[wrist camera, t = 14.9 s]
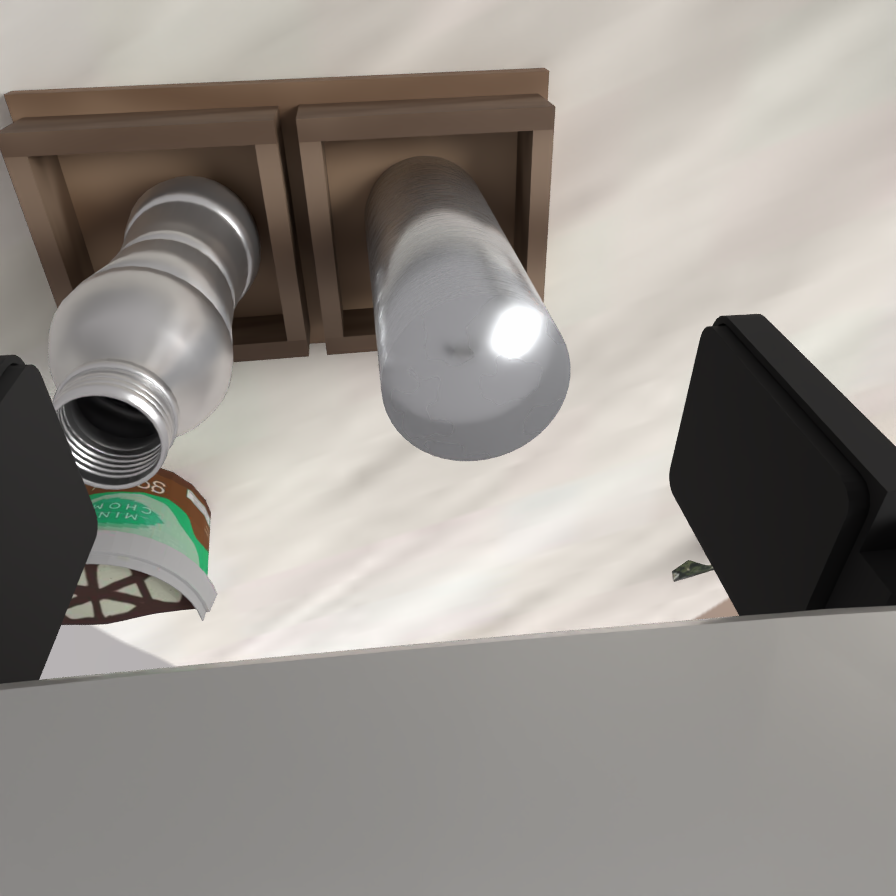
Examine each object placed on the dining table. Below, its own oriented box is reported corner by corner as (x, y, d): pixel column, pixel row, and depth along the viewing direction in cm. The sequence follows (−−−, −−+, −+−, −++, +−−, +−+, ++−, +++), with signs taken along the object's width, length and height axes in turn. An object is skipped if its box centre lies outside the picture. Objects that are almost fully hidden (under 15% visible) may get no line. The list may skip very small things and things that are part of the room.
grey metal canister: (359, 158, 37) (374, 302, 23) (485, 152, 38) (578, 287, 23) (369, 280, 41) (388, 468, 27) (484, 272, 42) (563, 452, 27)
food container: (212, 438, 47) (186, 542, 39) (232, 510, 51) (212, 619, 43) (16, 458, 46) (-53, 570, 38) (50, 530, 50) (-5, 646, 42)
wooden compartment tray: (11, 91, 35) (-27, 109, 31) (544, 68, 37) (567, 82, 33) (99, 351, 43) (77, 390, 39) (531, 319, 45) (548, 353, 41)
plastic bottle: (137, 277, 39) (-2, 516, 23) (139, 149, 36) (-24, 327, 20) (258, 299, 41) (207, 536, 25) (271, 178, 37) (222, 364, 21)
